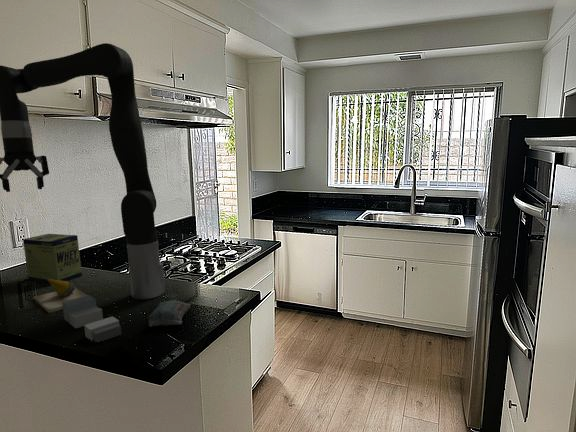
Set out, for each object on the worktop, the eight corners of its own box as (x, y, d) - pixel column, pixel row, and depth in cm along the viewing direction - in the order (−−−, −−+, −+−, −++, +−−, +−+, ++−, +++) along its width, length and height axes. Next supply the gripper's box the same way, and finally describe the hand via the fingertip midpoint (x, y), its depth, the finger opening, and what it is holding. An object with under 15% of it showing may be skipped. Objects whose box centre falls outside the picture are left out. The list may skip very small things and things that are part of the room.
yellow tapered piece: (78, 297, 129) (51, 282, 122) (65, 303, 130) (38, 289, 123) (81, 283, 132) (55, 268, 125) (69, 289, 134) (42, 275, 127)
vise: (90, 311, 118) (88, 295, 117) (123, 334, 103) (121, 315, 102) (64, 319, 113) (62, 301, 112) (94, 344, 98) (92, 324, 97)
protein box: (58, 284, 144) (53, 241, 142) (27, 280, 150) (21, 239, 147) (83, 275, 154) (78, 235, 151) (53, 272, 159) (47, 233, 157)
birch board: (74, 289, 138) (74, 286, 138) (92, 301, 126) (92, 298, 126) (33, 299, 129) (33, 296, 129) (49, 312, 118) (48, 309, 118)
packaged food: (192, 312, 115) (190, 295, 115) (181, 330, 104) (179, 312, 103) (161, 313, 115) (159, 297, 115) (147, 332, 104) (145, 314, 103)
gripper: (40, 137, 131) (46, 187, 134) (-14, 137, 121) (-7, 191, 124) (47, 136, 126) (53, 189, 129) (-9, 136, 116) (-1, 193, 119)
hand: (24, 190), depth 126 cm, fingers open, 8 cm apart
